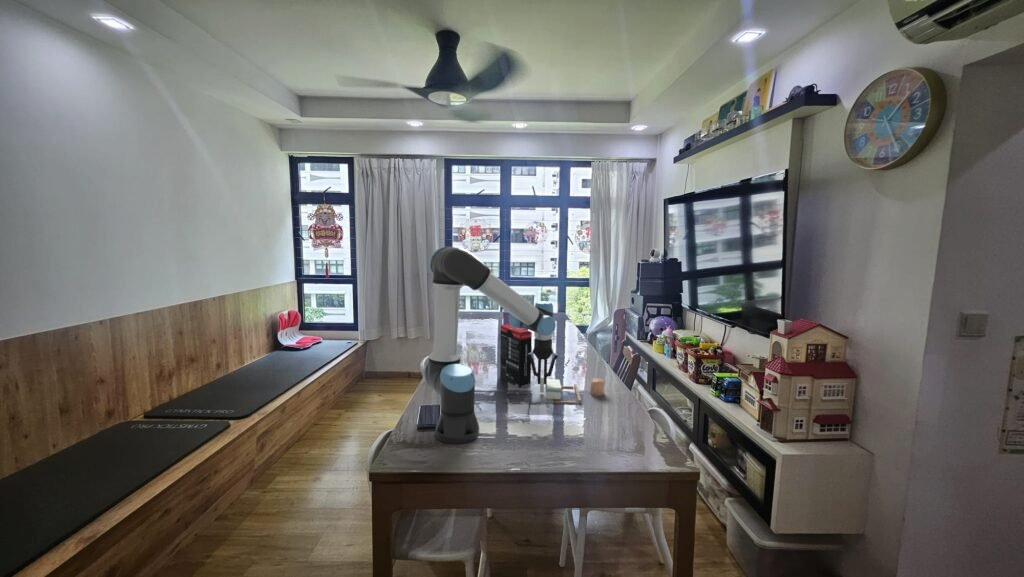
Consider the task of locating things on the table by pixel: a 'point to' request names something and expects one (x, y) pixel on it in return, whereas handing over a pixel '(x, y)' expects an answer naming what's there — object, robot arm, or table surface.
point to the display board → (541, 398)
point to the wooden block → (597, 387)
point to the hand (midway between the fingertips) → (541, 391)
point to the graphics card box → (515, 356)
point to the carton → (553, 389)
